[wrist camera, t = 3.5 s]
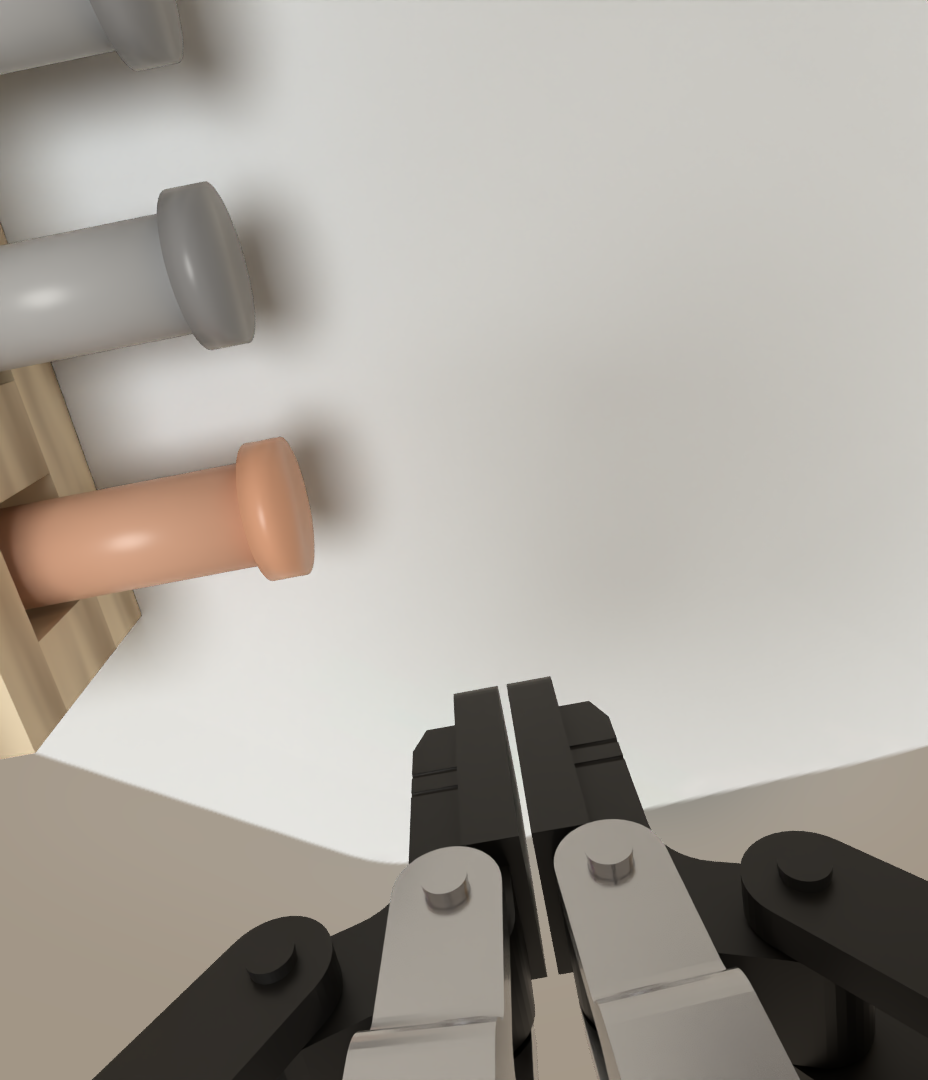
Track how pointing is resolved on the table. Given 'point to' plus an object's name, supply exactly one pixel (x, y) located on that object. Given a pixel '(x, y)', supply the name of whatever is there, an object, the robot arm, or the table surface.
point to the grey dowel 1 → (89, 32)
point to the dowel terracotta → (164, 530)
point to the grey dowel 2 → (127, 283)
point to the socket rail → (3, 623)
